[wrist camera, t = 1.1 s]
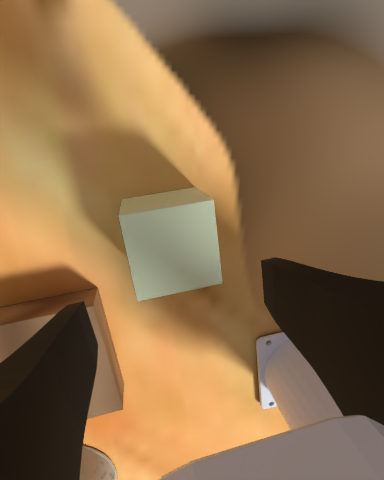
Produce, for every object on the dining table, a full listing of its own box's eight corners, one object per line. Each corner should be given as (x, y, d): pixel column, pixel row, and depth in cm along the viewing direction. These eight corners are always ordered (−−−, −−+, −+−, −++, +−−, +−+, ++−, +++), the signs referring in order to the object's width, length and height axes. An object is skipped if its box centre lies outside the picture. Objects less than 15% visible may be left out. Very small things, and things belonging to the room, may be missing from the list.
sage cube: (195, 186, 20) (213, 199, 15) (203, 253, 21) (222, 283, 17) (122, 198, 19) (118, 216, 14) (136, 266, 21) (137, 301, 16)
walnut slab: (97, 287, 21) (93, 306, 18) (123, 383, 24) (122, 409, 21) (-38, 315, 19) (-62, 338, 17) (8, 412, 22) (-7, 442, 20)
